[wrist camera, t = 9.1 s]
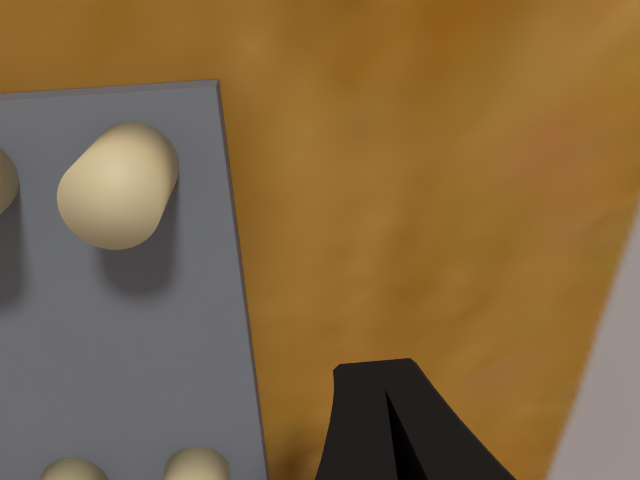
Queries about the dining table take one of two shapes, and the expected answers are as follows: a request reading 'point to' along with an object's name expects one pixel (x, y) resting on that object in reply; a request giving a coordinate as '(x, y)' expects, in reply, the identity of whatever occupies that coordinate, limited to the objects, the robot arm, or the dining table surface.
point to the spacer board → (123, 289)
